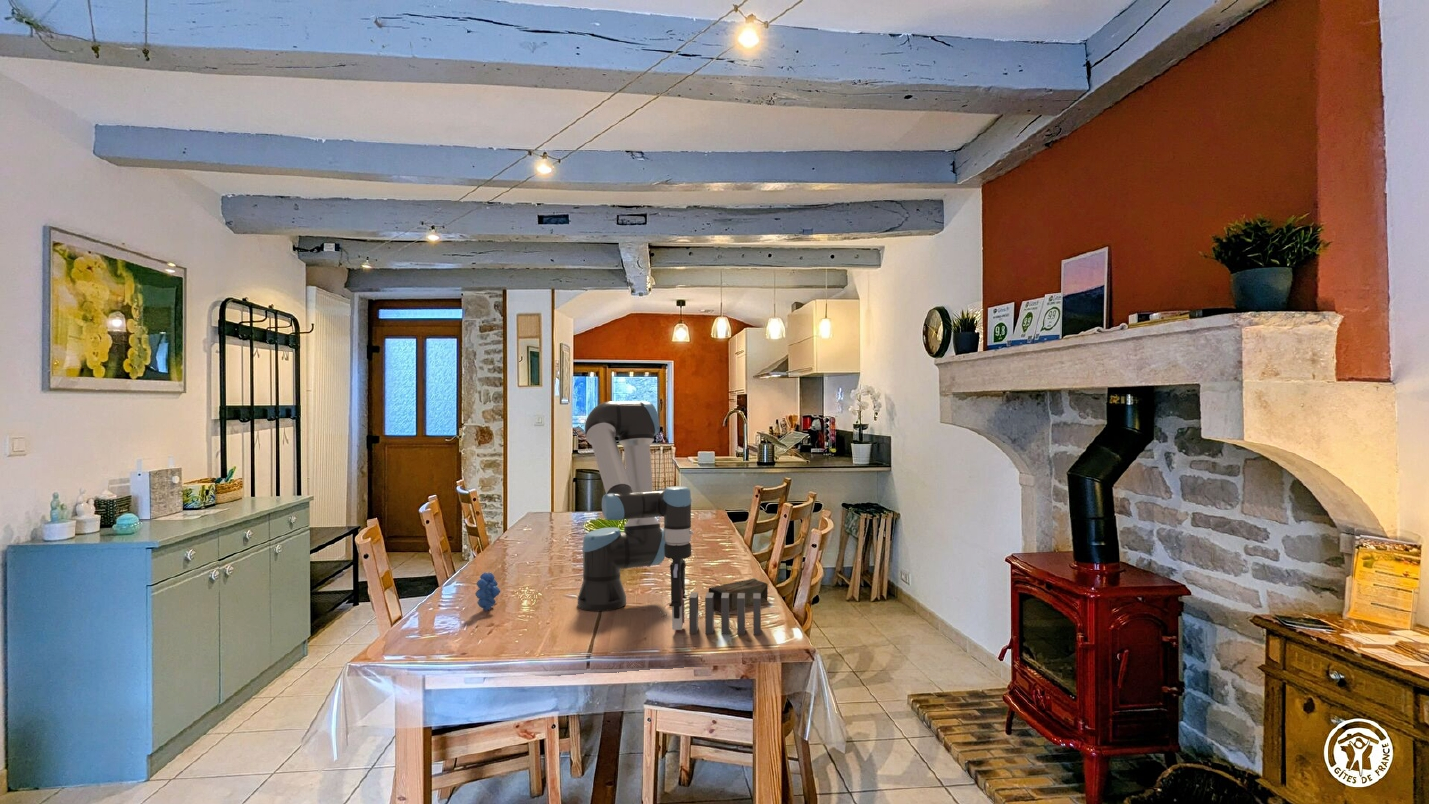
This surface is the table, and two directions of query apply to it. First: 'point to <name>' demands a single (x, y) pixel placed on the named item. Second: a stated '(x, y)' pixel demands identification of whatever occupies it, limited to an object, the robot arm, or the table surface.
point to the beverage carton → (739, 587)
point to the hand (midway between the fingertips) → (678, 625)
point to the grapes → (487, 591)
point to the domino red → (682, 604)
